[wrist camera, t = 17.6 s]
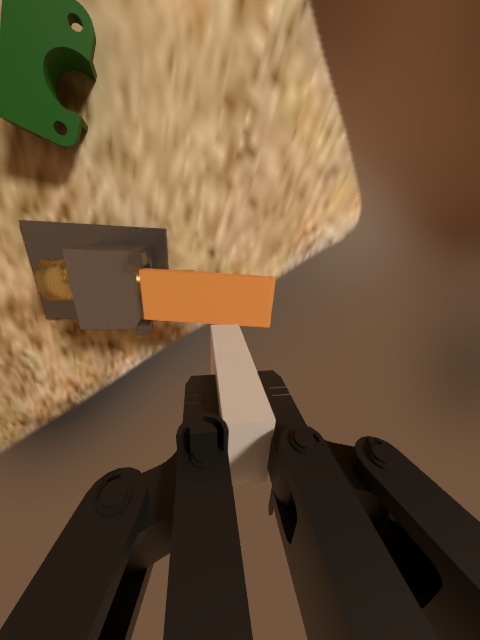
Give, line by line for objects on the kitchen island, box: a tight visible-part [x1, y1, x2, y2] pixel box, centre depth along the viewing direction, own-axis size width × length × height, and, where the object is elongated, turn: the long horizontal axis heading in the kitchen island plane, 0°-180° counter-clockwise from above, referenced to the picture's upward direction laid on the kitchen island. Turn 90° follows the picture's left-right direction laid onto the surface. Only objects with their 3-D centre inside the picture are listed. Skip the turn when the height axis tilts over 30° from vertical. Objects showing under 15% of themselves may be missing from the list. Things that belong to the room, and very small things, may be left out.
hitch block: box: [19, 220, 169, 335], centre depth 25 cm, size 12×16×10 cm
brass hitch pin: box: [35, 258, 194, 301], centre depth 27 cm, size 16×5×5 cm, turn 87°
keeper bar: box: [139, 268, 275, 327], centre depth 23 cm, size 5×1×13 cm
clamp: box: [0, 0, 97, 149], centre depth 21 cm, size 11×6×8 cm, turn 151°
